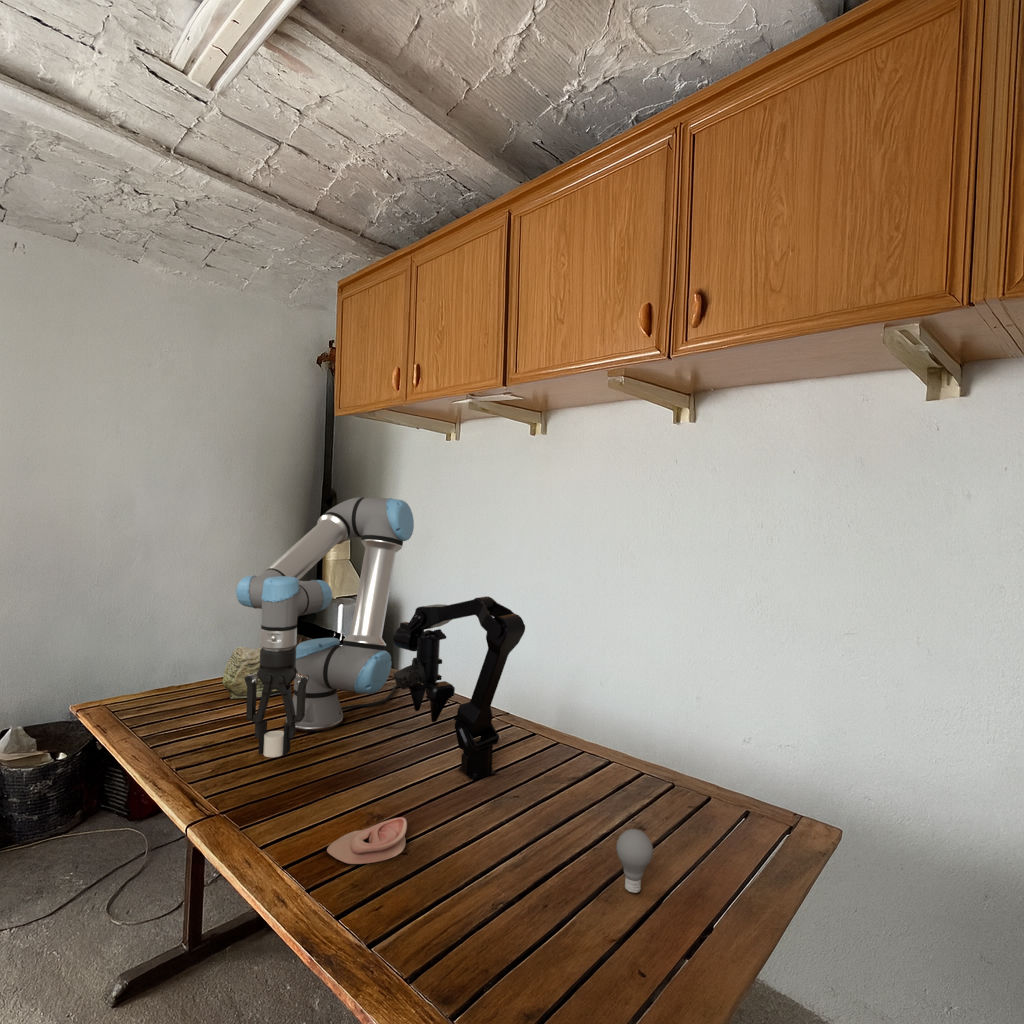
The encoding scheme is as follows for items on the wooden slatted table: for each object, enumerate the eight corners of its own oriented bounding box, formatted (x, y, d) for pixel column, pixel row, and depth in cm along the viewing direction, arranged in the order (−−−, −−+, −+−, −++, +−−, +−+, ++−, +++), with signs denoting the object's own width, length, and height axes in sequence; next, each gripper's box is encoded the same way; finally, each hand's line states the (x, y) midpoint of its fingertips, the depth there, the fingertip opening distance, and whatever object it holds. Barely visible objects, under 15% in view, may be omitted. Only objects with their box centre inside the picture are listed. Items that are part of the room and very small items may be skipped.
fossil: (218, 695, 195) (220, 647, 195) (278, 685, 208) (279, 640, 207) (228, 703, 189) (230, 653, 188) (289, 692, 201) (290, 645, 201)
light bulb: (610, 879, 108) (613, 822, 108) (644, 879, 109) (647, 822, 109) (619, 902, 102) (622, 840, 102) (655, 901, 103) (658, 840, 103)
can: (269, 759, 137) (270, 739, 137) (259, 753, 140) (260, 734, 140) (289, 753, 140) (290, 734, 140) (278, 747, 143) (279, 729, 143)
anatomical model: (319, 836, 111) (348, 806, 122) (318, 859, 111) (348, 826, 122) (390, 848, 108) (414, 816, 119) (389, 871, 108) (413, 836, 119)
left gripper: (230, 649, 136) (226, 758, 136) (314, 652, 136) (310, 760, 137) (244, 642, 143) (240, 744, 143) (323, 644, 144) (319, 746, 144)
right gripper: (383, 650, 163) (380, 710, 163) (415, 667, 148) (412, 733, 148) (422, 645, 169) (419, 703, 170) (457, 662, 154) (454, 725, 154)
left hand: (274, 751), depth 140 cm, fingers closed on can, 5 cm apart
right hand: (425, 716), depth 160 cm, fingers open, 9 cm apart
